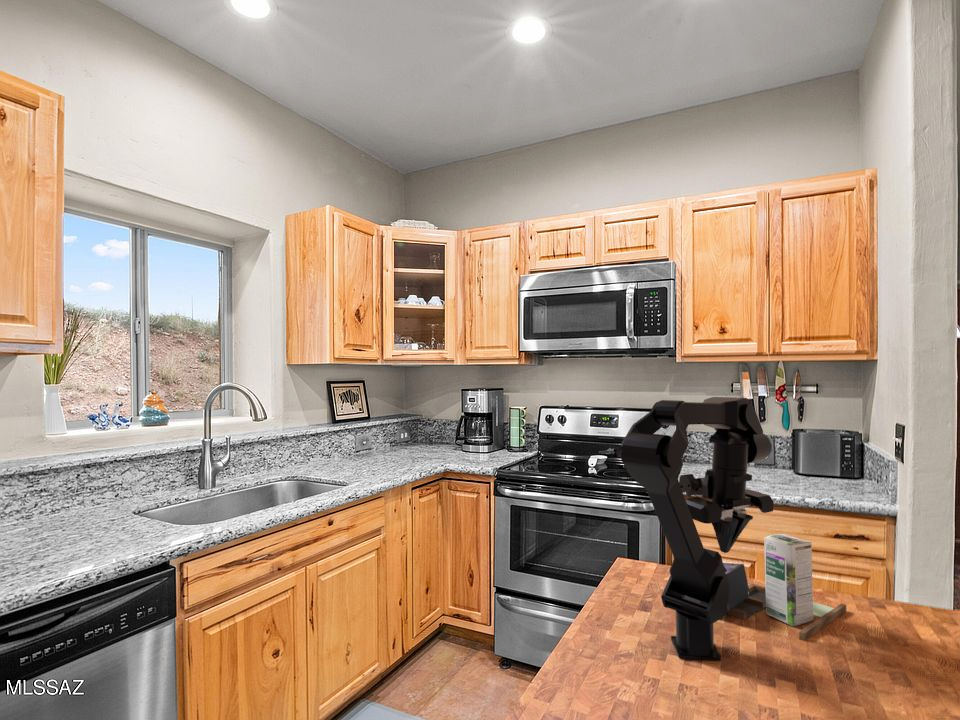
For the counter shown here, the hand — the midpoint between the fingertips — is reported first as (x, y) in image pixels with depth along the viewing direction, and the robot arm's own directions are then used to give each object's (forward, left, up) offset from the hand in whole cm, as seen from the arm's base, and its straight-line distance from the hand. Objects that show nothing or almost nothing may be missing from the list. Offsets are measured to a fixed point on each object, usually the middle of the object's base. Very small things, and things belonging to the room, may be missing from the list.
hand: (724, 551), depth 99 cm
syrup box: (+3, -12, -13) cm, 18 cm away
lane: (+6, -12, -13) cm, 18 cm away
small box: (+10, +5, -9) cm, 15 cm away
